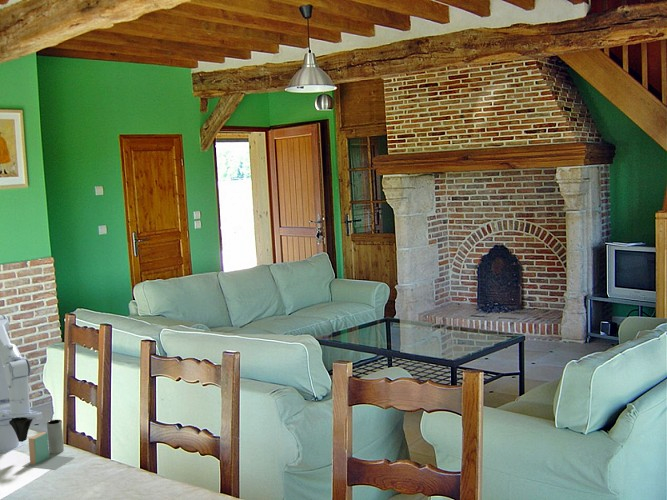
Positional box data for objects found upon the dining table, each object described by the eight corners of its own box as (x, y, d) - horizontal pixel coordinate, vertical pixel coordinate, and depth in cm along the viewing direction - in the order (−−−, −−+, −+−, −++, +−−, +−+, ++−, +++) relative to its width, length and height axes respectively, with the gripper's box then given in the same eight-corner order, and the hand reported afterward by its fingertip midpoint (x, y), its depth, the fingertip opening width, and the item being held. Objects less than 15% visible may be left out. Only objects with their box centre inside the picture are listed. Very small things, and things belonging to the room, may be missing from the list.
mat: (22, 467, 227) (21, 466, 227) (43, 456, 237) (43, 454, 237) (55, 471, 224) (55, 469, 223) (75, 459, 233) (75, 457, 233)
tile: (30, 463, 229) (28, 438, 228) (43, 456, 235) (41, 432, 234) (36, 464, 228) (34, 438, 228) (49, 457, 234) (47, 432, 233)
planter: (48, 451, 240) (46, 420, 239) (63, 449, 242) (61, 418, 241) (49, 456, 236) (47, 424, 235) (64, 453, 238) (62, 422, 237)
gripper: (-9, 400, 230) (-6, 443, 231) (30, 403, 226) (33, 446, 227) (7, 394, 237) (10, 435, 238) (45, 396, 232) (48, 438, 234)
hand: (22, 440), depth 233 cm, fingers closed
